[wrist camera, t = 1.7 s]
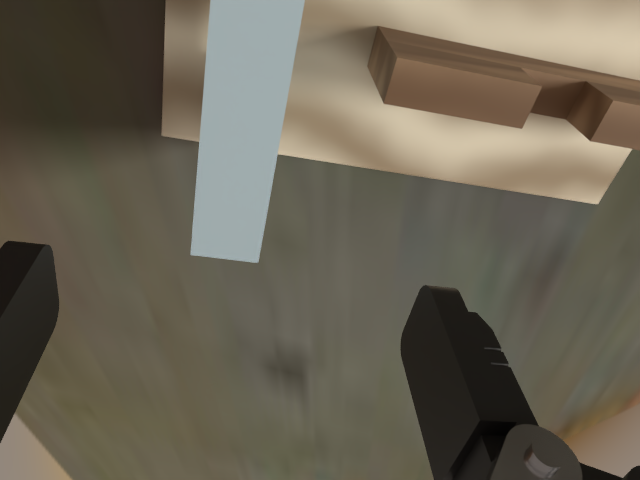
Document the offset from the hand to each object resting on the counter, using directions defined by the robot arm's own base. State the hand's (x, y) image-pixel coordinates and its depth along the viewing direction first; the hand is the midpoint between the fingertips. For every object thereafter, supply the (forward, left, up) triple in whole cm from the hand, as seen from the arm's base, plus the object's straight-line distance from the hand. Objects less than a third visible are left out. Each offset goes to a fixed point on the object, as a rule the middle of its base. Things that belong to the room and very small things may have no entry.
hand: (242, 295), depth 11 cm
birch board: (0, +11, -24) cm, 26 cm away
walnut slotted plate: (0, +17, -23) cm, 28 cm away
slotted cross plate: (0, 0, -23) cm, 23 cm away
